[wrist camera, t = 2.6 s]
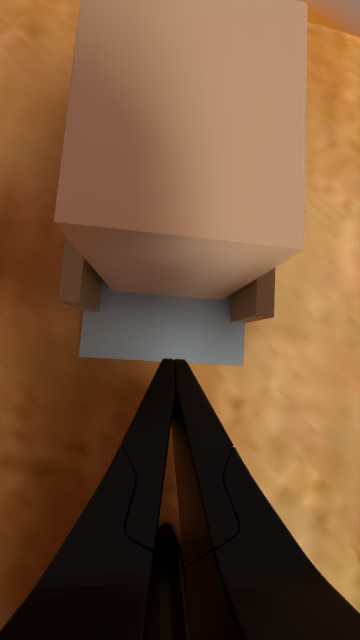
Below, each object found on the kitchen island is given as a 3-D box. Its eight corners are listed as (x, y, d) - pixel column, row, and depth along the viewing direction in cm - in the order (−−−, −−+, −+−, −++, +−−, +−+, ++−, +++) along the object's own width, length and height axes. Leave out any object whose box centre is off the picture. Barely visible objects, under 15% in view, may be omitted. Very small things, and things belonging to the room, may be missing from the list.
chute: (236, 364, 17) (272, 374, 12) (84, 355, 16) (50, 363, 11) (248, 56, 19) (282, -46, 14) (117, 30, 18) (102, -91, 13)
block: (221, 300, 16) (304, 249, 7) (112, 290, 15) (53, 221, 6) (226, 180, 17) (307, 3, 8) (124, 166, 16) (86, -49, 7)
